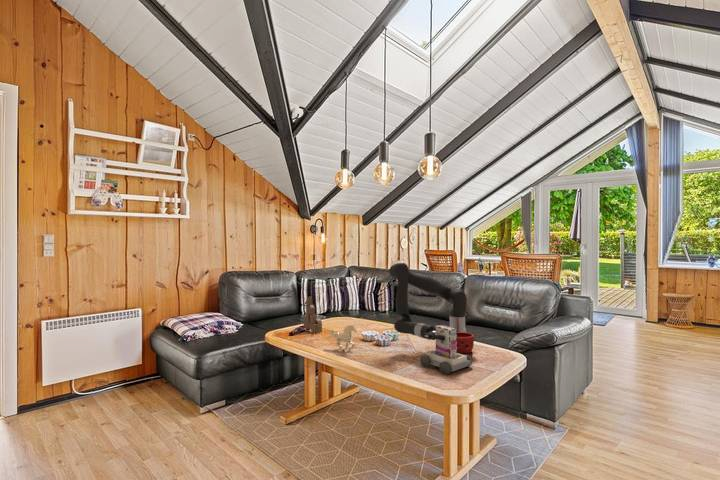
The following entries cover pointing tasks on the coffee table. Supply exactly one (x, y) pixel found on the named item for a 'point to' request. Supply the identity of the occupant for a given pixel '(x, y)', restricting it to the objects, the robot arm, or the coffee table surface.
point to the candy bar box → (447, 342)
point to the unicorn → (344, 336)
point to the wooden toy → (311, 318)
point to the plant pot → (465, 343)
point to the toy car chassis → (445, 361)
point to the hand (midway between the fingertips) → (449, 337)
